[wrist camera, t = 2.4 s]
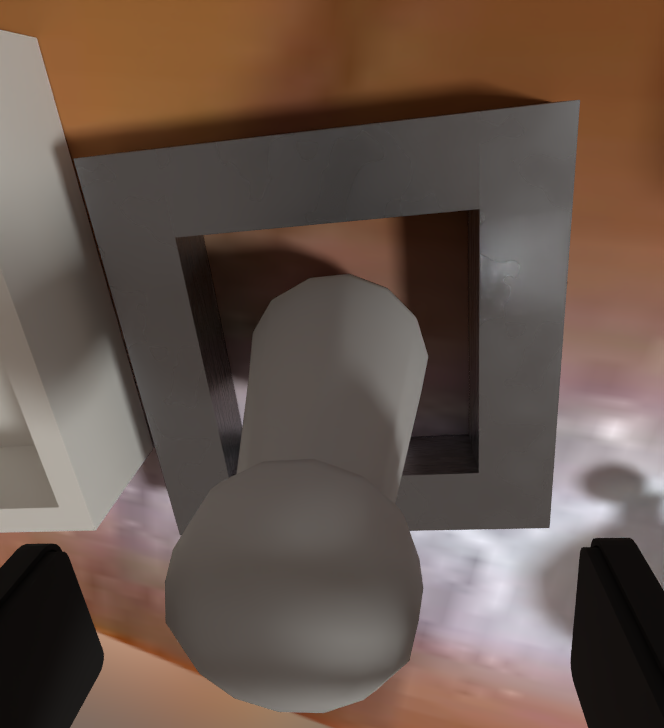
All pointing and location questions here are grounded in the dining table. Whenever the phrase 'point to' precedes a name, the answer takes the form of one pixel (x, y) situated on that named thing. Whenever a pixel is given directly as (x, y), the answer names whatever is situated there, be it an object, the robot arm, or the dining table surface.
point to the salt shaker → (310, 509)
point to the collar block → (340, 204)
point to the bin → (55, 326)
